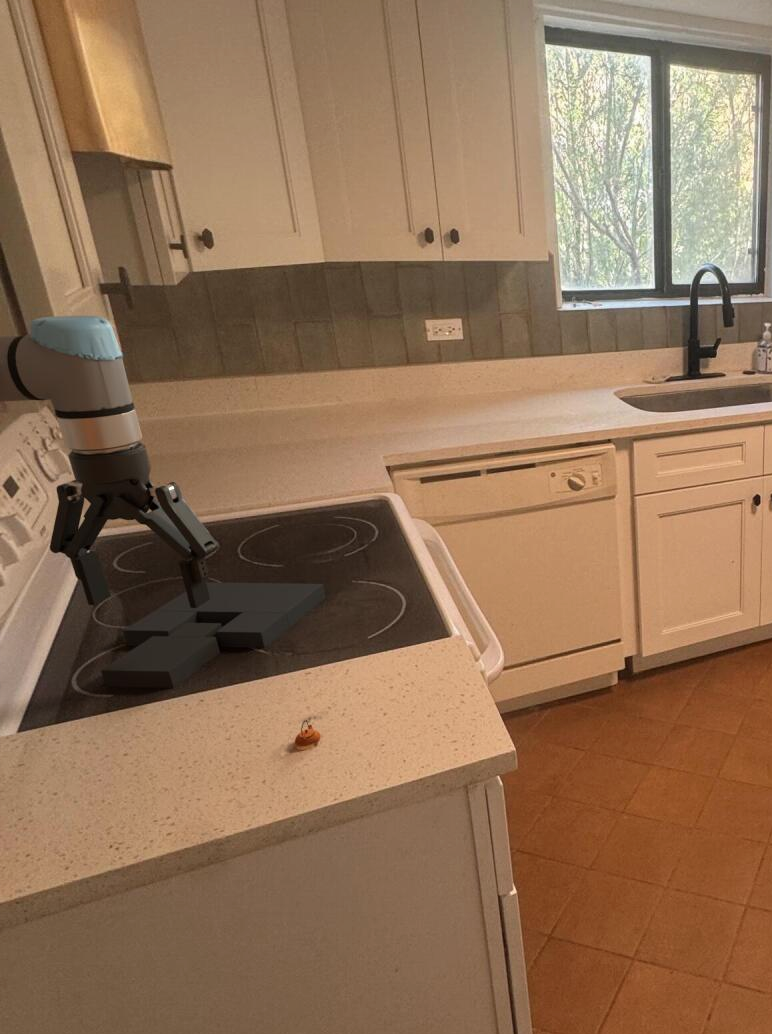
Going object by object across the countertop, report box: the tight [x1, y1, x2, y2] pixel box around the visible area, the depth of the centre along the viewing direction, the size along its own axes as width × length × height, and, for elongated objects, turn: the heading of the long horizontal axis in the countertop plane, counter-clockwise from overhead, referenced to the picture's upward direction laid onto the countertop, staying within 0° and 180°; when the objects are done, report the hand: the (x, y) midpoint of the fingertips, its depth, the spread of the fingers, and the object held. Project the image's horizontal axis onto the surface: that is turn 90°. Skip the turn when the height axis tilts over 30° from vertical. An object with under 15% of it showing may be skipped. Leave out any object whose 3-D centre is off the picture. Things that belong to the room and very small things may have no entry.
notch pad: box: [122, 581, 327, 649], centre depth 118 cm, size 20×16×4 cm
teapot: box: [294, 719, 321, 751], centre depth 92 cm, size 3×3×3 cm
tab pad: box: [100, 623, 223, 689], centre depth 107 cm, size 9×13×4 cm
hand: (150, 602), depth 103 cm, fingers open, 13 cm apart
